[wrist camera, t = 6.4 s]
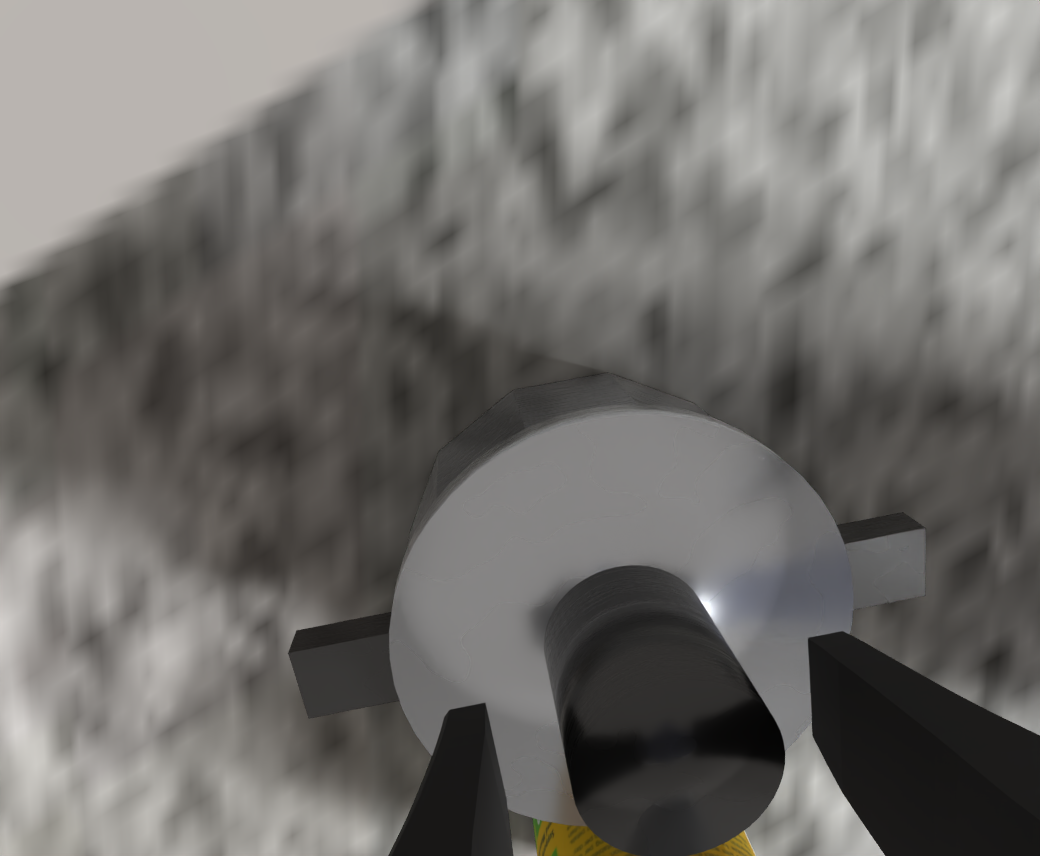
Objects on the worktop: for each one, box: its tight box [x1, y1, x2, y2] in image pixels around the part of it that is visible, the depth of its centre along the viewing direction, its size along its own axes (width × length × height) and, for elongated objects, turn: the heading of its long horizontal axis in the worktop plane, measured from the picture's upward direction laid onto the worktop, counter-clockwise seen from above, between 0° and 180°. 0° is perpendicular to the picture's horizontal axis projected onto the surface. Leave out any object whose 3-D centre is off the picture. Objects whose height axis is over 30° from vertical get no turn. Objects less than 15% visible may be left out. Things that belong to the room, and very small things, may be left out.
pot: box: [288, 373, 926, 718], centre depth 17 cm, size 13×9×4 cm, turn 99°
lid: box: [389, 404, 854, 856], centre depth 13 cm, size 9×9×4 cm
